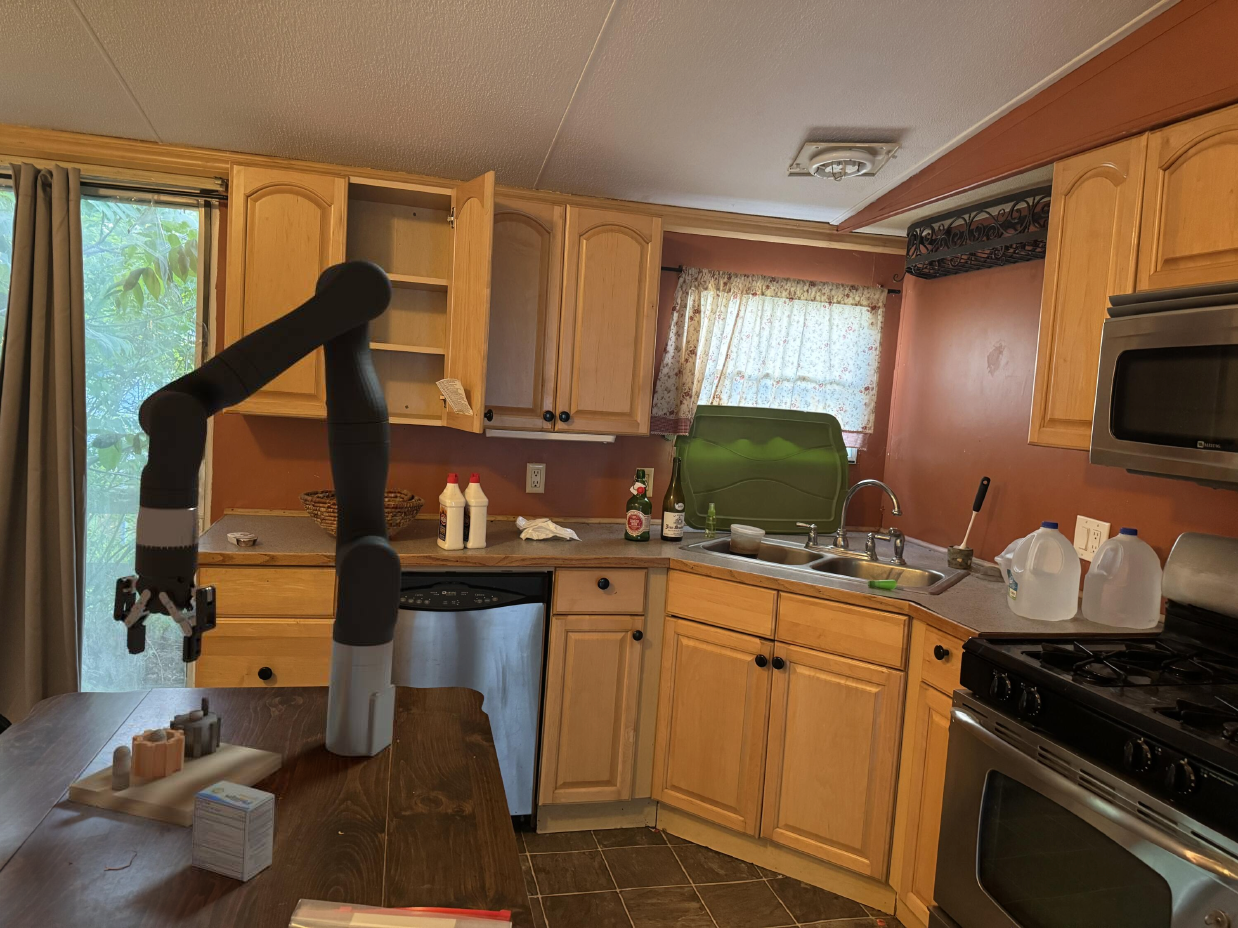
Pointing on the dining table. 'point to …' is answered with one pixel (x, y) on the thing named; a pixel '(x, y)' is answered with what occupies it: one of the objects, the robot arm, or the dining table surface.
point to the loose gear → (157, 754)
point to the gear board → (176, 772)
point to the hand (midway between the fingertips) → (163, 657)
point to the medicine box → (233, 830)
